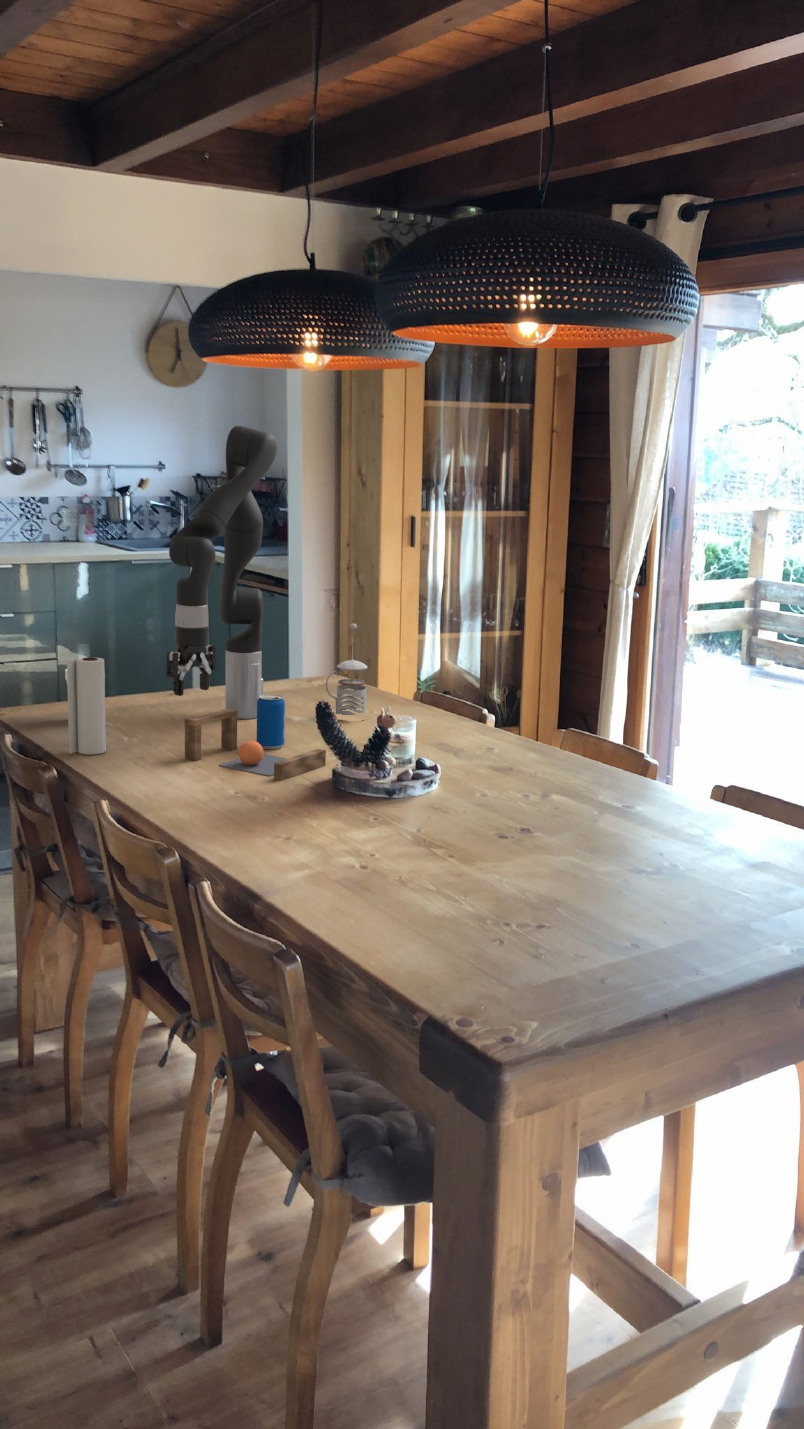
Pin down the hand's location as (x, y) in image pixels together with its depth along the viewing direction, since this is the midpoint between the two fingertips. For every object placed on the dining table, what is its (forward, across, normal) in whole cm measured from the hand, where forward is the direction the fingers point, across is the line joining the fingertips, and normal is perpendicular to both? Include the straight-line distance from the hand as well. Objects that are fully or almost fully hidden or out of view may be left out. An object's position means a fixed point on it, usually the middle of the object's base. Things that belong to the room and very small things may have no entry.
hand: (191, 692), depth 278 cm
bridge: (+12, -5, -11) cm, 17 cm away
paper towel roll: (+12, -22, +11) cm, 27 cm away
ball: (+9, -6, -24) cm, 26 cm away
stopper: (+11, -4, -36) cm, 38 cm away
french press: (+13, +47, -11) cm, 50 cm away
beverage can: (+12, +9, -16) cm, 22 cm away
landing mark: (+12, -4, -26) cm, 28 cm away
